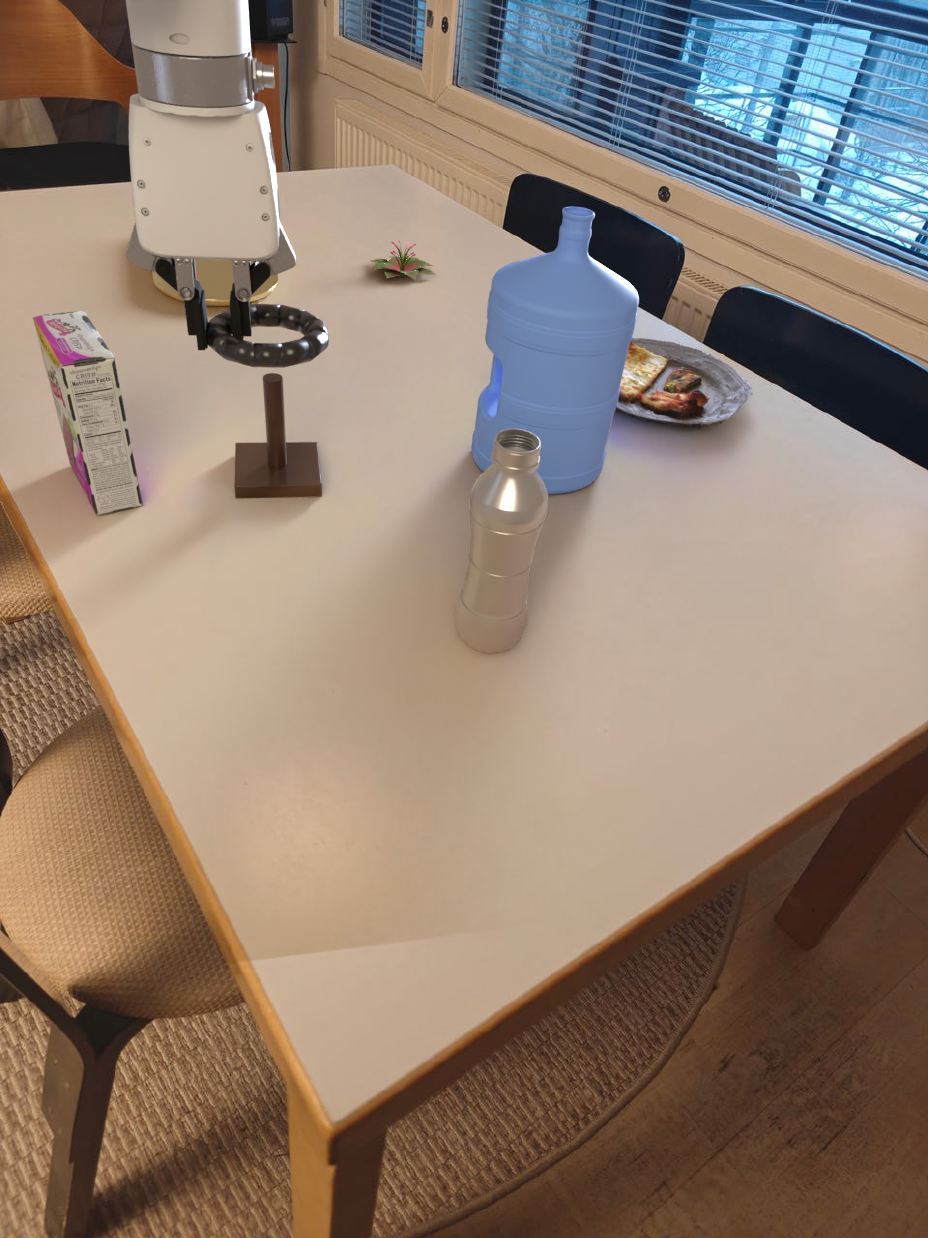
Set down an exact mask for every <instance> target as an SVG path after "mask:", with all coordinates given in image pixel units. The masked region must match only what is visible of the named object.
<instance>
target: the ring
mask: <svg viewBox="0 0 928 1238" xmlns="http://www.w3.org/2000/svg"><path fill="white" fill-rule="evenodd" d="M250 316H251V329H253V328H257V327H259V328H260V327H261V328H263V327H264V328H265V327H266V328H282V329H287V330H291V331H294V332H298V333H300V335H301V334H302V335H303V336H302V337H300V338H298V339H294V340H290V341H286V342H281V343H275V342H253V341H249V340H245V339H244V340H242V339H238V338H235V337H233V336H232V326H231V315H230V307H228V308H227V309H225V310H223V311H222V312H219V313H218V314H216V315H215V316H213V317H212V318H210V319H209V320H208V326H207V333H206V341H207V344H208V348H210V349H211V350H213V351H214V352H215V353H216V354H218V355H219V356H220V357H221V358H223V359H224V360H226V361H229V362H231V363H236V364H239V365H243V366H247V367H251V368H277V369H278V368H279V369H280V368H281V369H283V368H284V369H285V368H288V367H293V366H297V365H302V364H304V363H310V362H311V361H313V360H314V359H316V358H317V357H318V356H319V355H321V354H322V353H323V352H324V351H326V350H327V348H328V347H329V341H330V340H329V333H328V332H329V331H328V327H327V325H326V323H325V322H324V321H323V320H321V319H320V318H318V317H317V316H315V315H314V314H312V313H311V312H310V311H307V310H305V309H301V308H296V307H293V306H289V305H285V304H279V303H278V304H276V303H250Z"/></svg>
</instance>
